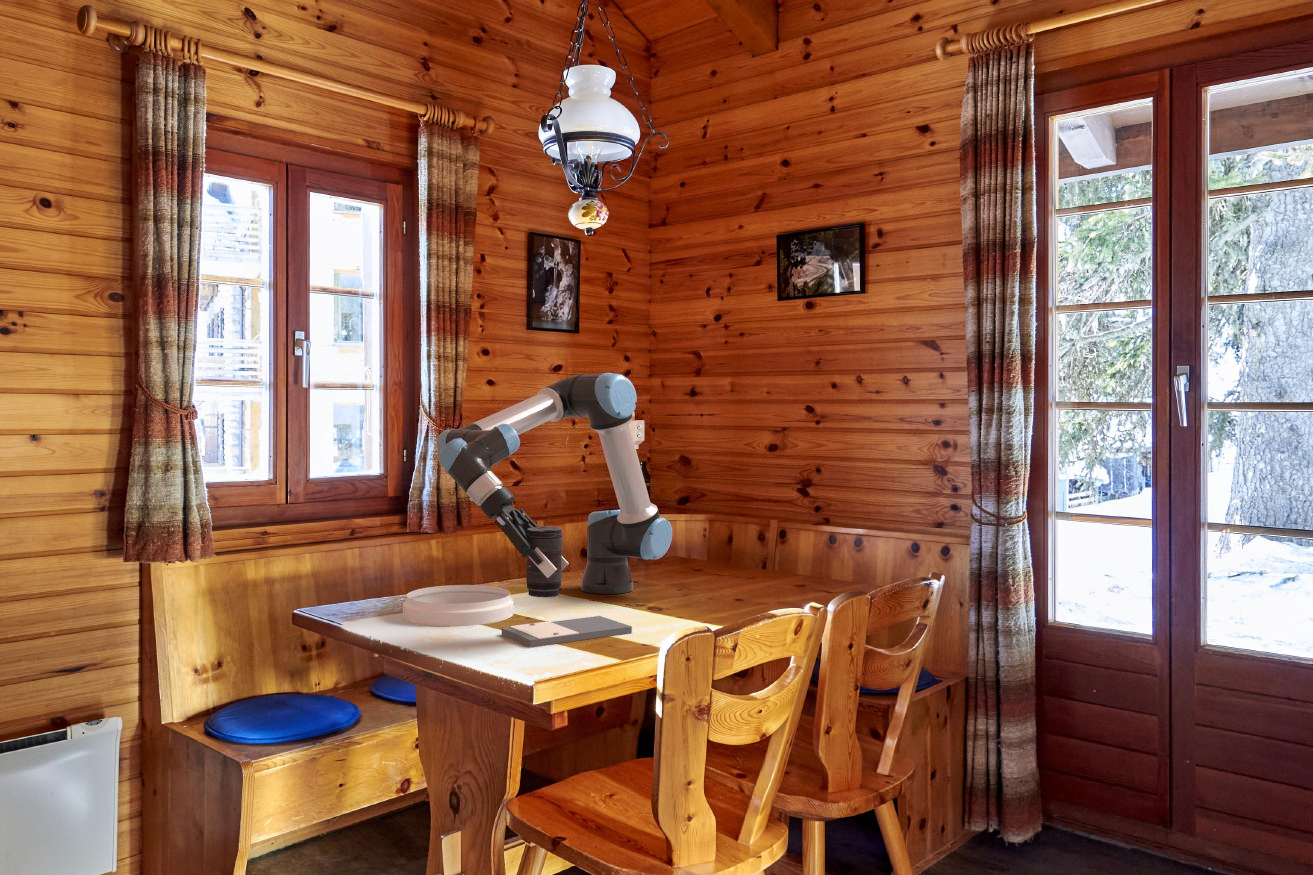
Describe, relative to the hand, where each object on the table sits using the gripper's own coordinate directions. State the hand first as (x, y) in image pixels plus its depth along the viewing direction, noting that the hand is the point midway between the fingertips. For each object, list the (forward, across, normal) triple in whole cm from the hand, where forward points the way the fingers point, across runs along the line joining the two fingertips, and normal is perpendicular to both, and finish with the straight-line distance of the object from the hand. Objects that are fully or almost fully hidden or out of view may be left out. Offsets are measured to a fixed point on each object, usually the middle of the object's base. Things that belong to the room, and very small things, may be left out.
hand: (558, 570), depth 207 cm
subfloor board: (+11, -5, -10) cm, 16 cm away
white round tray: (-11, -18, -33) cm, 40 cm away
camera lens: (+2, 0, -6) cm, 7 cm away
